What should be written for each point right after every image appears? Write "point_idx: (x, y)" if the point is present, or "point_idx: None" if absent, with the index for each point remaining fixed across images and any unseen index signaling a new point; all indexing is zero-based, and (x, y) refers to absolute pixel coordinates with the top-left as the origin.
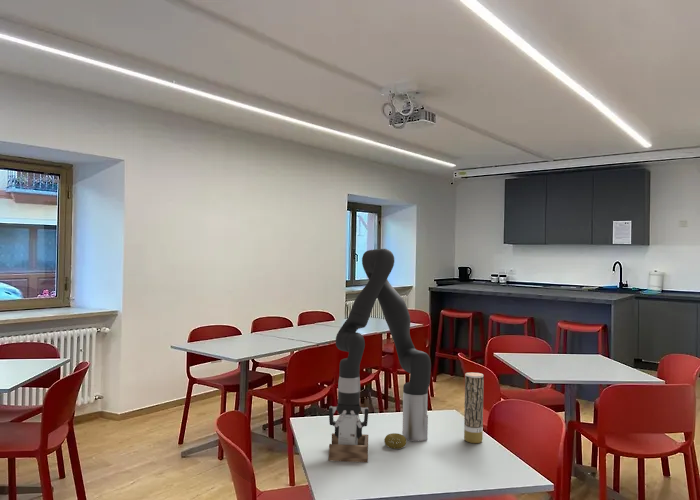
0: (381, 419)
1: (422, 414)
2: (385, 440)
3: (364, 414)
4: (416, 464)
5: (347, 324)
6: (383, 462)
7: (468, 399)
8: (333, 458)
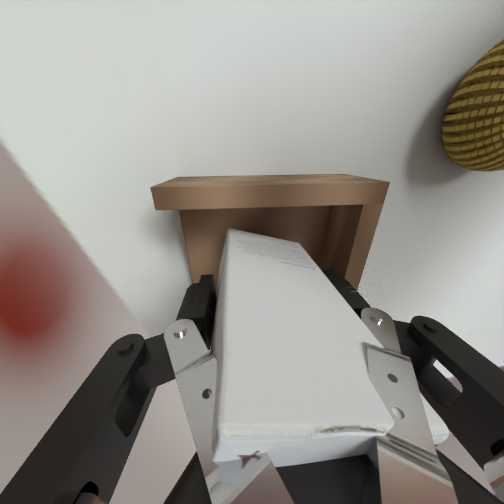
0: None
1: None
2: (463, 129)
3: (495, 459)
4: (458, 284)
5: None
6: (367, 285)
7: None
8: None
